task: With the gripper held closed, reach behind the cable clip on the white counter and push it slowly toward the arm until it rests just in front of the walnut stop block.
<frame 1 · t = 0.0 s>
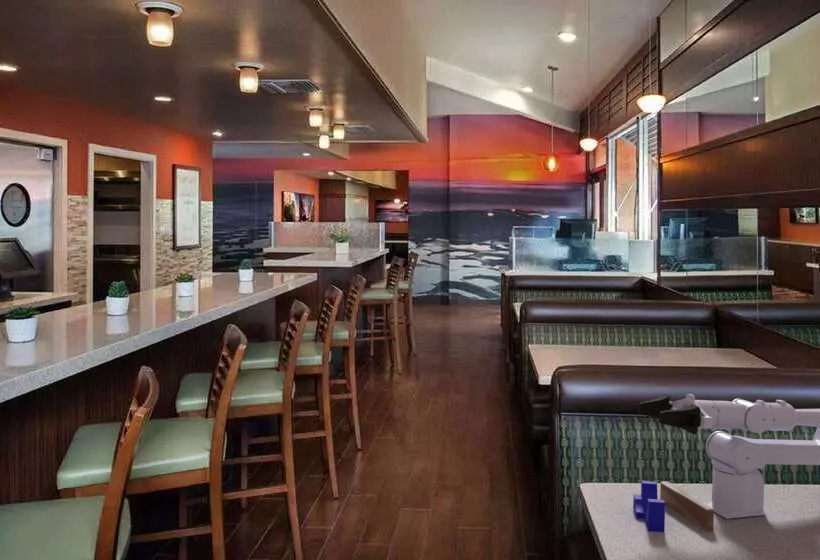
hand: (649, 412, 143), 22 cm above the table, tool horizontal, fingers open, 7 cm apart
cable clip: (648, 521, 144), on the table
walnut stop: (685, 515, 146), on the table
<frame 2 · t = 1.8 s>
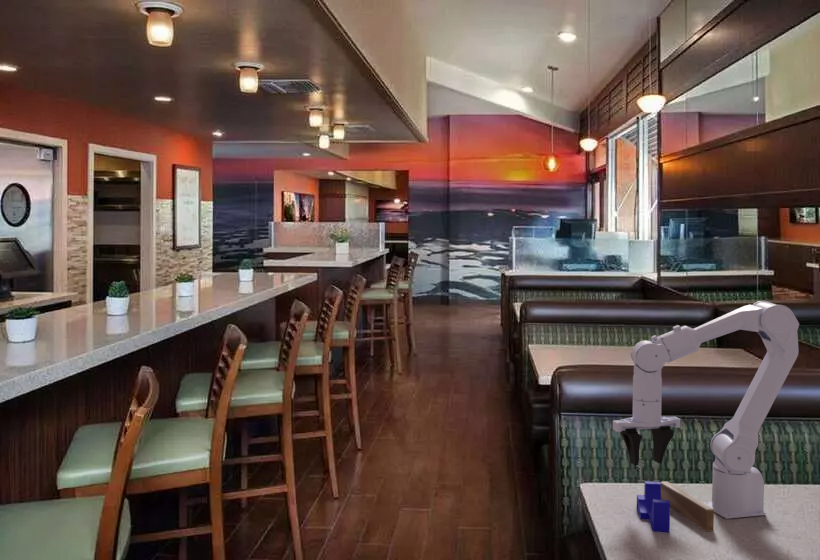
hand: (645, 462, 150), 9 cm above the table, tool pointing down, fingers open, 5 cm apart
nothing on the table moved.
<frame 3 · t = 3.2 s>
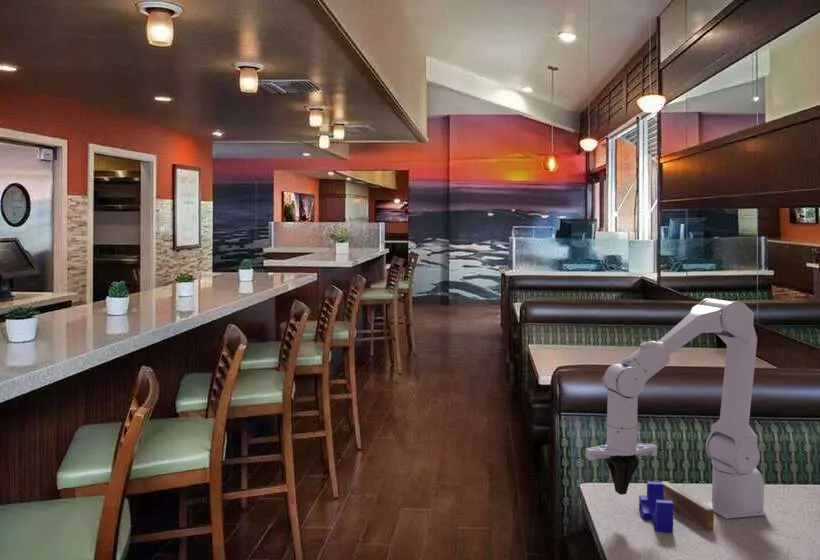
hand: (620, 492, 143), 6 cm above the table, tool pointing down, fingers closed
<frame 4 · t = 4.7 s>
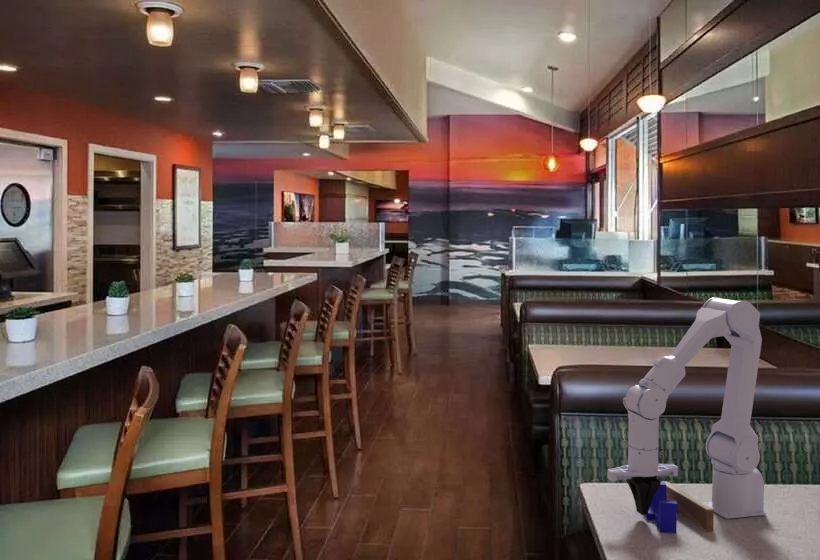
hand: (642, 512, 144), 1 cm above the table, tool pointing down, fingers closed
cable clip: (658, 522, 144), on the table, touching gripper
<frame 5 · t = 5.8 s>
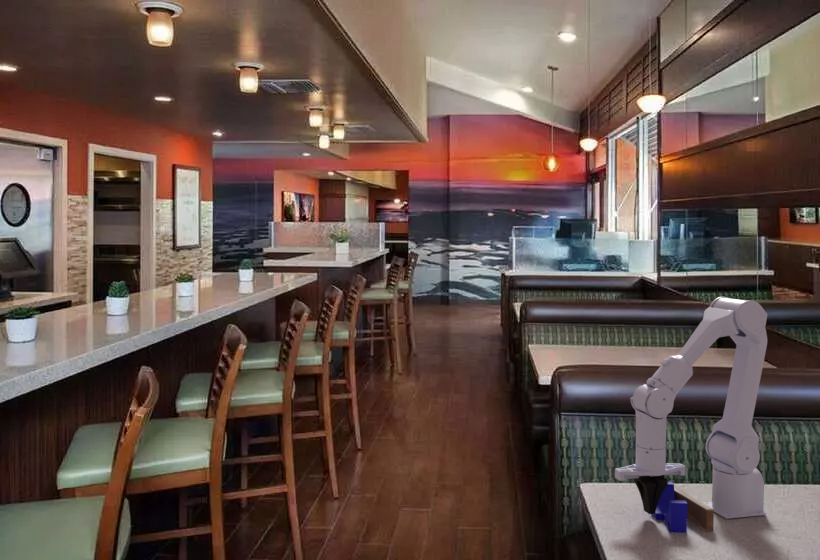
hand: (649, 512, 144), 1 cm above the table, tool pointing down, fingers closed
cable clip: (667, 522, 144), on the table
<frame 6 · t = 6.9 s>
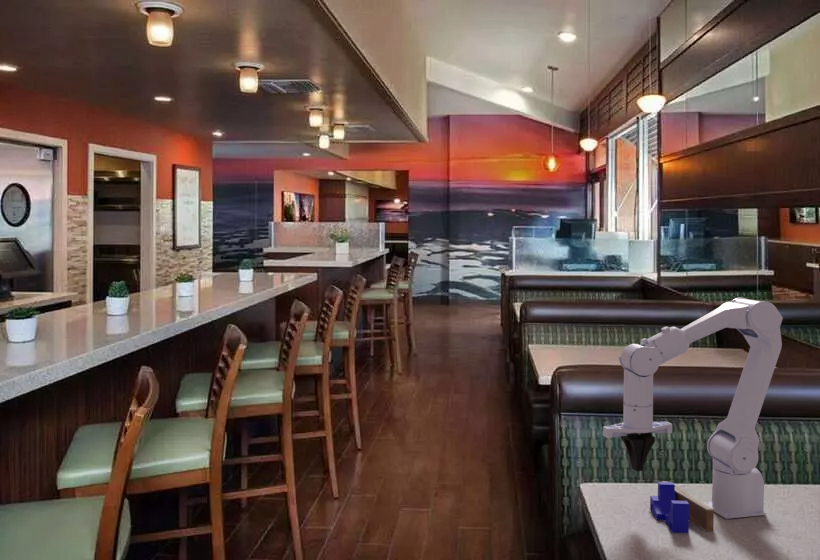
hand: (637, 469, 146), 9 cm above the table, tool pointing down, fingers closed
nothing on the table moved.
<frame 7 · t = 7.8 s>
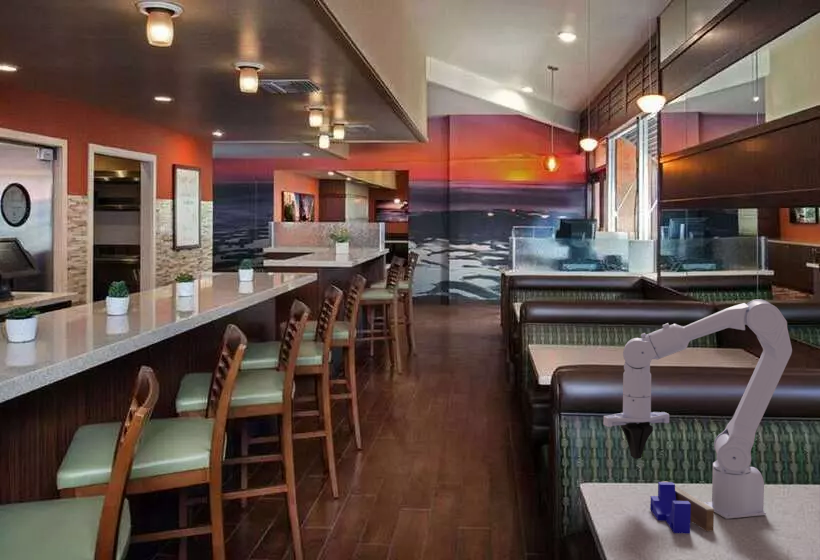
hand: (635, 457, 154), 9 cm above the table, tool pointing down, fingers closed
nothing on the table moved.
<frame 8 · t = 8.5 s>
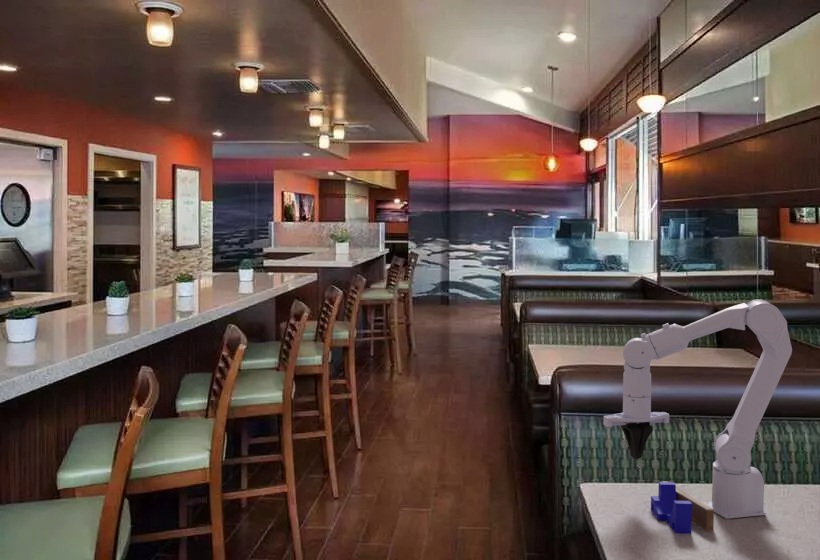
hand: (635, 457, 154), 9 cm above the table, tool pointing down, fingers closed
nothing on the table moved.
at the end: cable clip inside the target area on the table beside the walnut stop (1.9 cm from its centre), on the table; cable clip moved 4.5 cm from its start; the gripper is holding nothing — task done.
